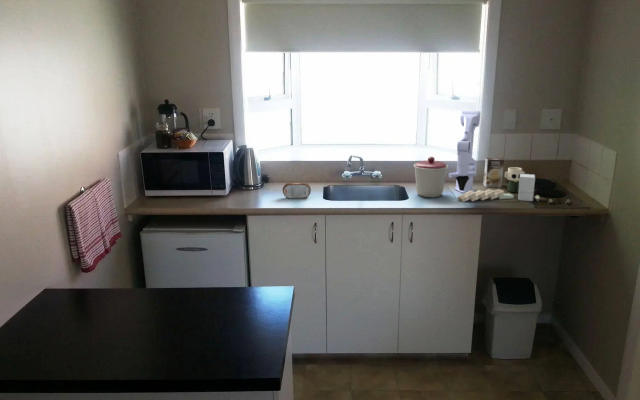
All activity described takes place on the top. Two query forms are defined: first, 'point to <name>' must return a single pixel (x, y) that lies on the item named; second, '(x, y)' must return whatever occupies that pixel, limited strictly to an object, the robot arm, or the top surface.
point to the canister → (430, 177)
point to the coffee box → (493, 172)
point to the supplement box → (526, 187)
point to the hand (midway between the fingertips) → (461, 190)
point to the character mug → (513, 178)
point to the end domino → (506, 196)
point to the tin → (296, 190)
